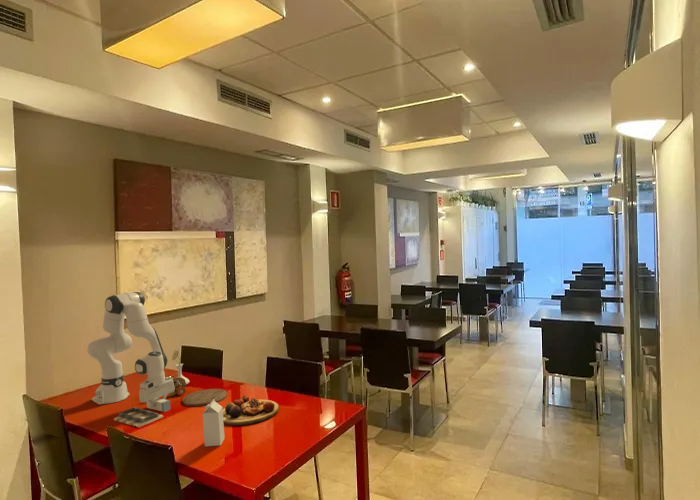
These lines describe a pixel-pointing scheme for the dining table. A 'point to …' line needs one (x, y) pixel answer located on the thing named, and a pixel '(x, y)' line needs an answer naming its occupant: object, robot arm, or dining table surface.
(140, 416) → the tray
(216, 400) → the trivet
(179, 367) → the flower in vase
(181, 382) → the toy cannon
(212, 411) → the milk carton
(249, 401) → the wooden plate with food
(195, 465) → the dining table surface
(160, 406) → the white rectangular block
